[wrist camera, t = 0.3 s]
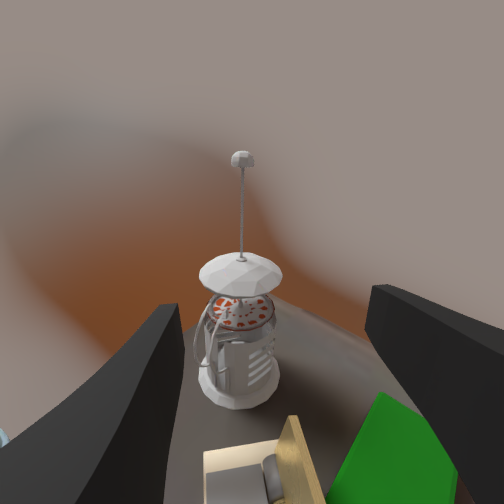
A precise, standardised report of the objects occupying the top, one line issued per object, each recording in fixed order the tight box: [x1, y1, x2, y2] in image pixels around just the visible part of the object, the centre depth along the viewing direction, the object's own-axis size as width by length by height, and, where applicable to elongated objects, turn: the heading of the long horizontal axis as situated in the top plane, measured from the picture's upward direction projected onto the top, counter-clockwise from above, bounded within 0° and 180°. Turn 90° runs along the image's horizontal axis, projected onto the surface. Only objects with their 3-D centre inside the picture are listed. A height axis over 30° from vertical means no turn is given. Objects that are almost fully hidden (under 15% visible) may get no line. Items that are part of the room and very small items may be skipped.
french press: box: [193, 151, 282, 410], centre depth 26 cm, size 10×12×25 cm
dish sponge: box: [325, 392, 458, 504], centre depth 21 cm, size 7×14×2 cm, turn 138°
